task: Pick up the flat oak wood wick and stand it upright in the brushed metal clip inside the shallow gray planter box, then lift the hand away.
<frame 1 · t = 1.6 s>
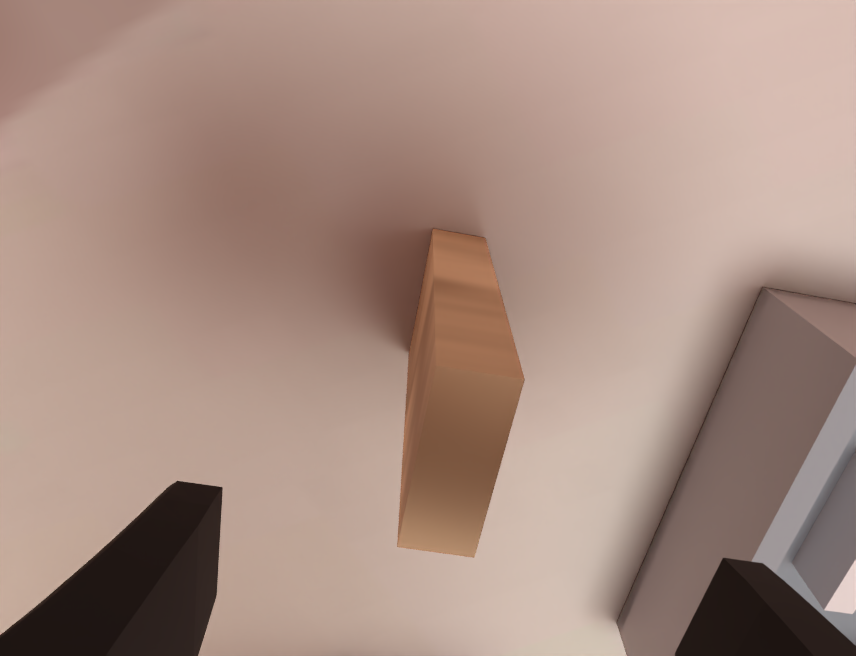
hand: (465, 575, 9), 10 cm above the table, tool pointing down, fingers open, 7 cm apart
wood wick: (445, 298, 19), on the table
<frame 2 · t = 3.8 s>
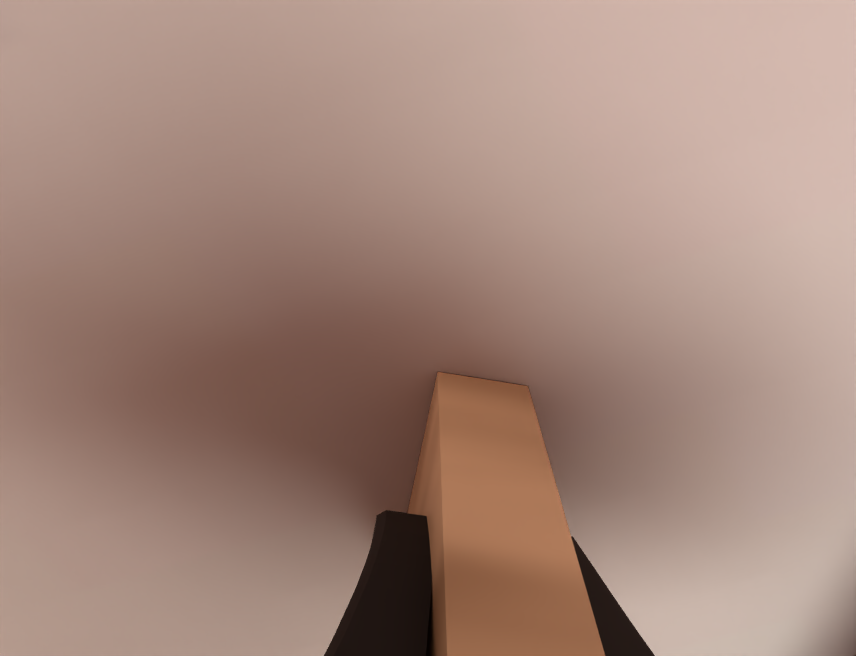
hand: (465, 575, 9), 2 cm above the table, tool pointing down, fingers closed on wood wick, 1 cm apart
wood wick: (458, 476, 11), on the table, touching gripper
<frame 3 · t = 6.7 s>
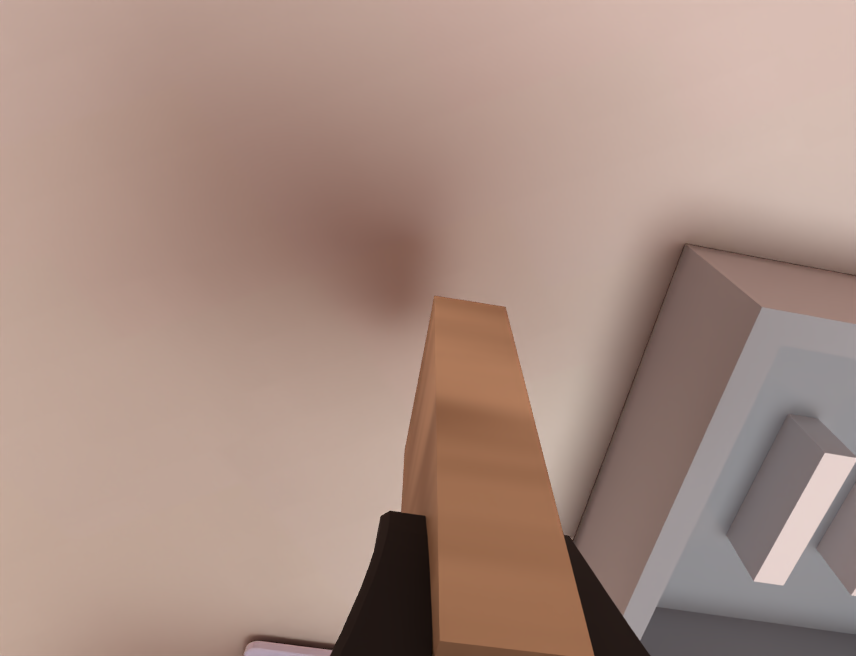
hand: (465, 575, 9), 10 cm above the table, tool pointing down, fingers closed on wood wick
shallow gray planter box: (808, 477, 21), on the table
wood wick: (452, 382, 14), point 5 cm above the table, touching gripper
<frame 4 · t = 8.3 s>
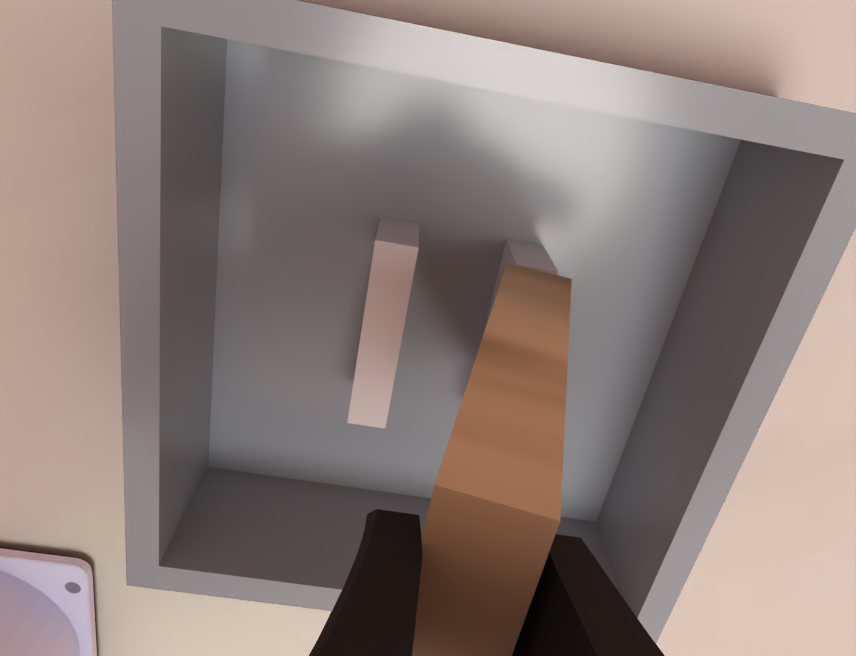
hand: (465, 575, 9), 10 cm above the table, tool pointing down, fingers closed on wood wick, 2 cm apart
shallow gray planter box: (444, 311, 18), on the table
wood wick: (518, 346, 15), point 3 cm above the table, tilted 13°, touching shallow gray planter box, gripper
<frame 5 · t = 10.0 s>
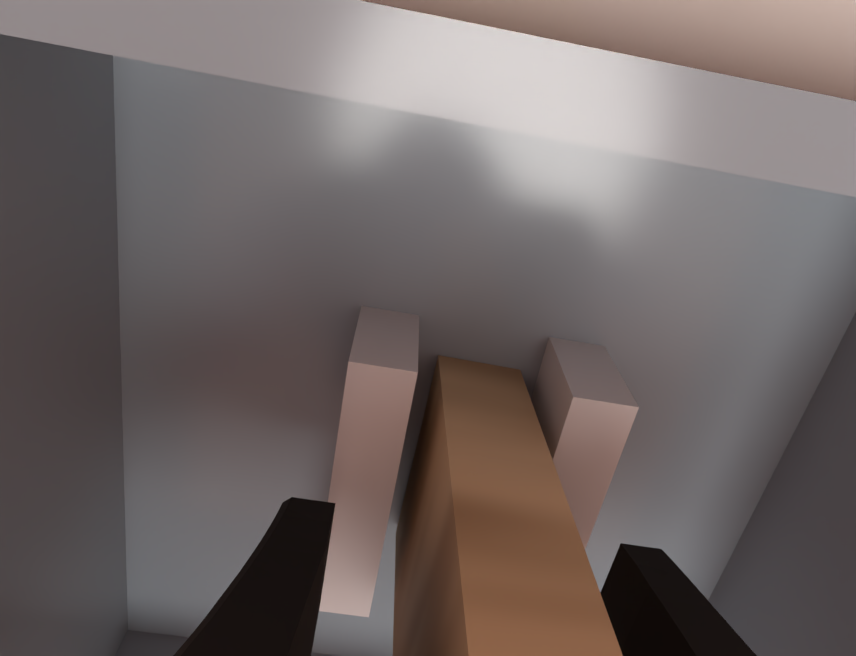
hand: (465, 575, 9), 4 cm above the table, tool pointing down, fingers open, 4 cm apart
shallow gray planter box: (455, 429, 12), on the table
wood wick: (454, 455, 12), point 1 cm above the table, touching shallow gray planter box
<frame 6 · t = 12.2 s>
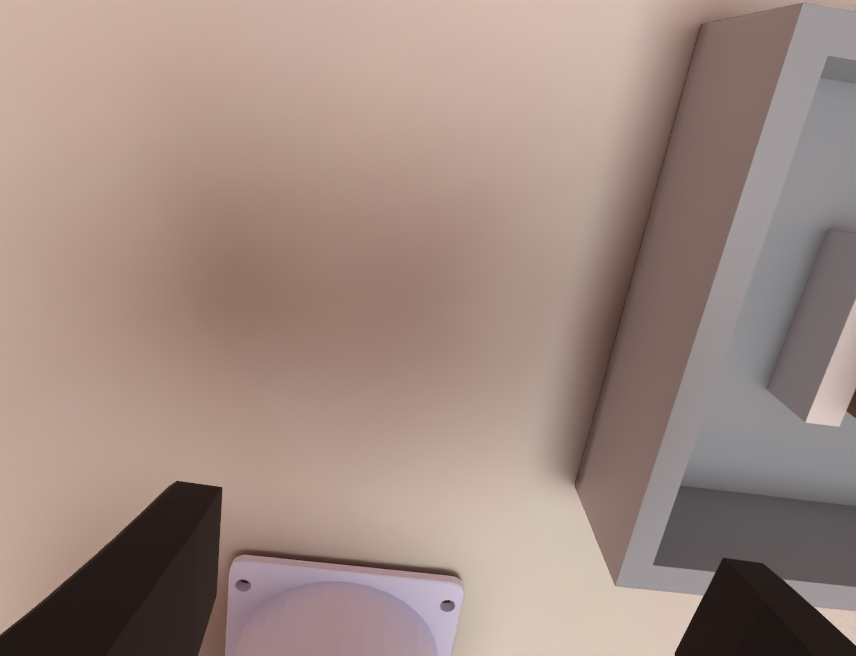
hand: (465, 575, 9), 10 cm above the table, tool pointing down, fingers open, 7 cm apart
shallow gray planter box: (854, 317, 19), on the table
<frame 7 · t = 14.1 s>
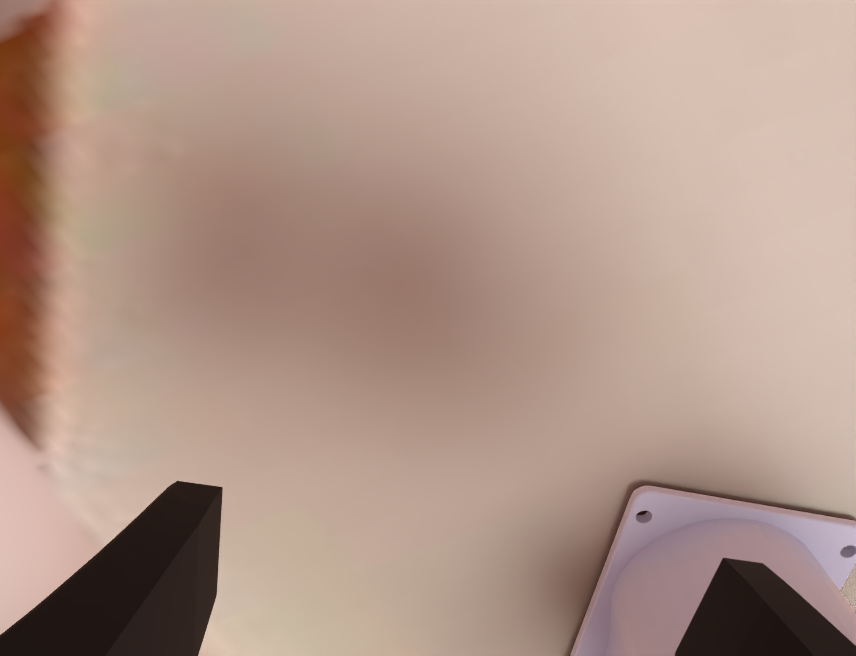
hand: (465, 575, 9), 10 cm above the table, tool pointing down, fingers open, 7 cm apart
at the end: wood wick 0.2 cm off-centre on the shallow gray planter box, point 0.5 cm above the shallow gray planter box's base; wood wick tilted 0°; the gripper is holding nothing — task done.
